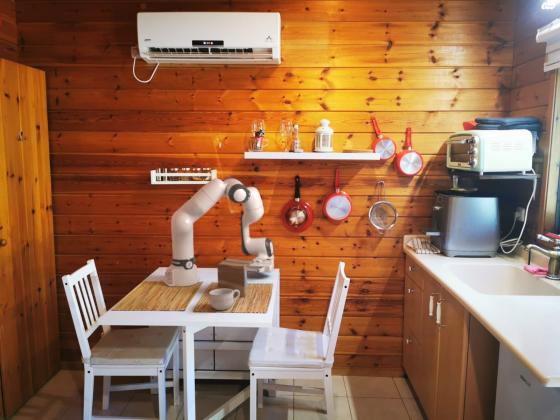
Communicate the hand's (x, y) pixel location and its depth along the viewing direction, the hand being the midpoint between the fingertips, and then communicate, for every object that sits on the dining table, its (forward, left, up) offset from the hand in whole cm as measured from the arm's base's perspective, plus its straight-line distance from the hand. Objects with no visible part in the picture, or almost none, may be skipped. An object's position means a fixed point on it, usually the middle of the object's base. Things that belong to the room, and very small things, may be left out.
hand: (250, 270), depth 240 cm
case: (+8, -14, -6) cm, 17 cm away
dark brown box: (+9, -16, -6) cm, 20 cm away
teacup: (+24, -33, -6) cm, 41 cm away
